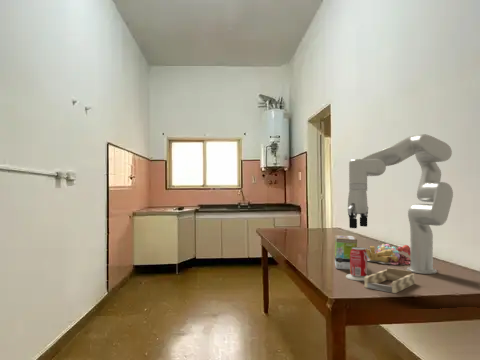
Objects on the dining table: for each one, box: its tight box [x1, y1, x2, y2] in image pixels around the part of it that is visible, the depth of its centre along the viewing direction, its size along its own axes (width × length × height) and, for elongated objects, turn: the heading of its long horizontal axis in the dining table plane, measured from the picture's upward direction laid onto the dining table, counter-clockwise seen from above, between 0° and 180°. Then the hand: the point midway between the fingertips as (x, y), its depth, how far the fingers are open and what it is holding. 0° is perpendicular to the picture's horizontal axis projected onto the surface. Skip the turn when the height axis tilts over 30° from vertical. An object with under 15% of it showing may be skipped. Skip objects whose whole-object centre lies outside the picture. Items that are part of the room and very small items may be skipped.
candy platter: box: [365, 243, 410, 266], centre depth 206 cm, size 25×24×9 cm
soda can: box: [349, 246, 368, 277], centre depth 166 cm, size 7×7×12 cm
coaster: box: [345, 273, 369, 282], centre depth 166 cm, size 10×10×1 cm
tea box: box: [334, 234, 358, 270], centre depth 191 cm, size 15×10×15 cm, turn 168°
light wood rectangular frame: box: [364, 267, 416, 294], centre depth 153 cm, size 20×12×5 cm, turn 137°
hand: (358, 227), depth 166 cm, fingers open, 9 cm apart
